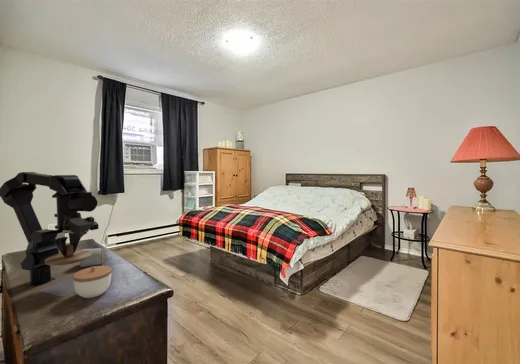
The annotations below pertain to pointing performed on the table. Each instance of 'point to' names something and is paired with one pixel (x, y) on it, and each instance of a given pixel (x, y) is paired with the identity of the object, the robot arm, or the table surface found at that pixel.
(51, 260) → the lid
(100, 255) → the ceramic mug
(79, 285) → the lidded jar
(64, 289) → the mat
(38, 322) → the table surface
